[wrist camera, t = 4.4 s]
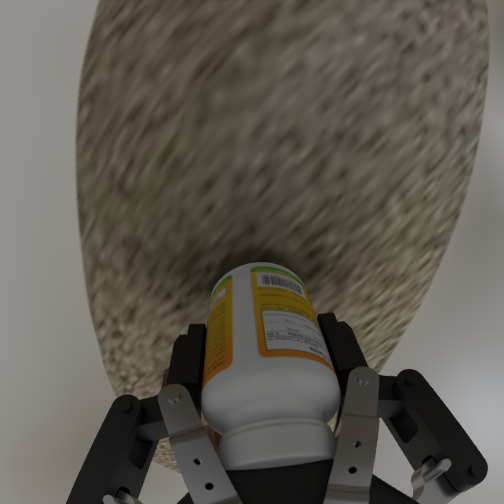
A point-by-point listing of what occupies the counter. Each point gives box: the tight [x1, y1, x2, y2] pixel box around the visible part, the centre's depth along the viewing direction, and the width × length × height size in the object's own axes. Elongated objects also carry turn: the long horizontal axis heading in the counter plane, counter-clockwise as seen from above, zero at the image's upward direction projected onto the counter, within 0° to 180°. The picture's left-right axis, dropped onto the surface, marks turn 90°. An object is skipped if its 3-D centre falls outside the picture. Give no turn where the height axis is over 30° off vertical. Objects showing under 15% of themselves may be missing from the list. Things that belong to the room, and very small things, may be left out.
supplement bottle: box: [201, 262, 341, 470], centre depth 11 cm, size 5×5×10 cm
